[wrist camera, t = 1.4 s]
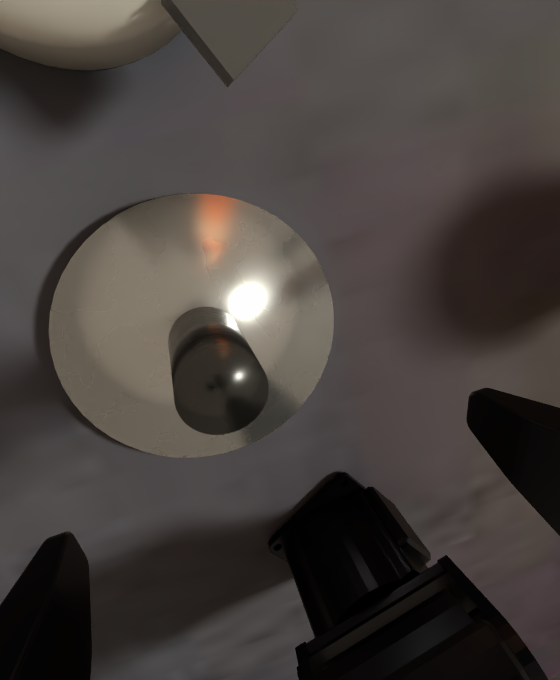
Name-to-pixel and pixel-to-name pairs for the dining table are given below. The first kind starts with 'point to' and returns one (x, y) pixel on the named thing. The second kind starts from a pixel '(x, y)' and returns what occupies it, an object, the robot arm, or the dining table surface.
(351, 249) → the dining table surface
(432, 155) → the dining table surface
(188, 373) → the lid
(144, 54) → the pot
